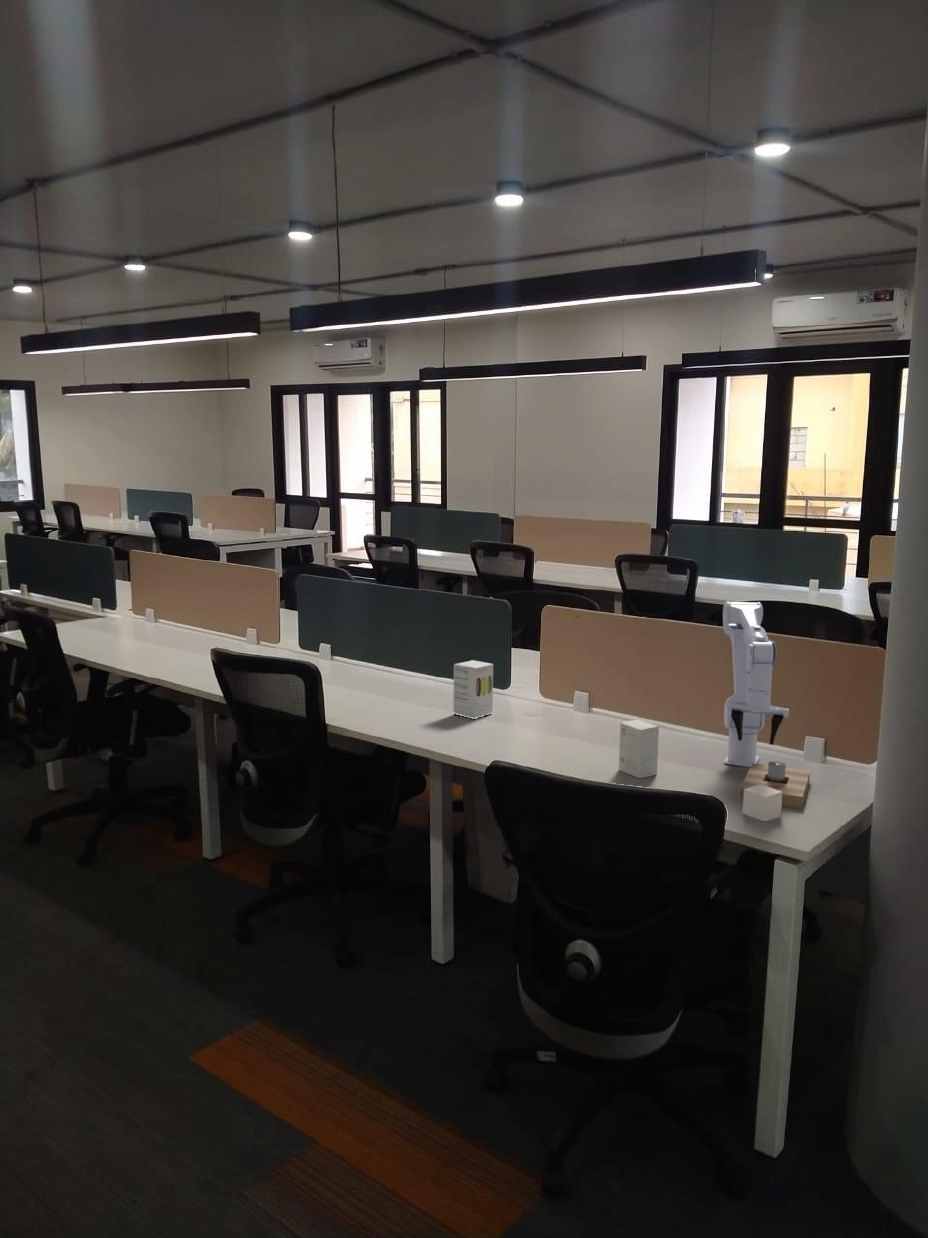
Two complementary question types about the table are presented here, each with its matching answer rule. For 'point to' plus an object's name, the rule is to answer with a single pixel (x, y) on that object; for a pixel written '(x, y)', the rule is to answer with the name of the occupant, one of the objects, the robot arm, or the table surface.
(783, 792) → the wooden socket block
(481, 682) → the supplement box
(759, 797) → the white cube
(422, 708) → the table surface
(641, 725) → the small box
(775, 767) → the steel pin
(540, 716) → the table surface
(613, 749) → the table surface
